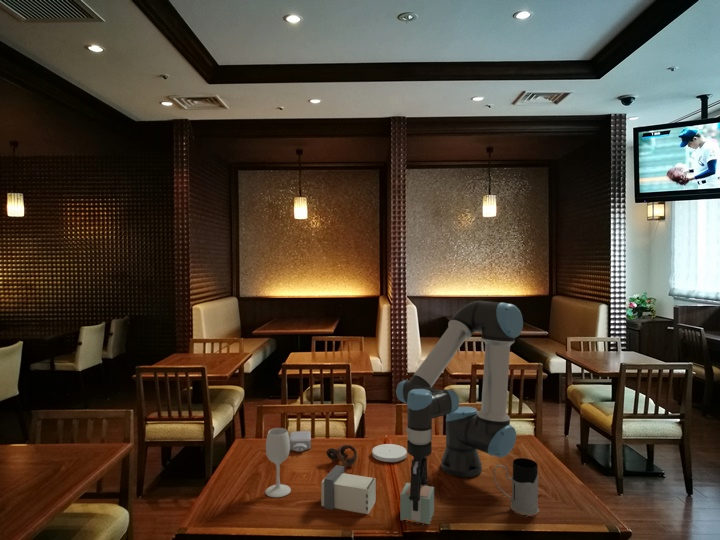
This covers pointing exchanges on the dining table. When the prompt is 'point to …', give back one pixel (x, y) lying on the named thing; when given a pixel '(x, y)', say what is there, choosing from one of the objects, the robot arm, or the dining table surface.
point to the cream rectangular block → (348, 491)
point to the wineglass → (277, 458)
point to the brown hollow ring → (342, 455)
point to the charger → (300, 440)
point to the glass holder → (523, 486)
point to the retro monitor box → (426, 503)
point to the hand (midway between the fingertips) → (418, 512)
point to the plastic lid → (389, 453)
